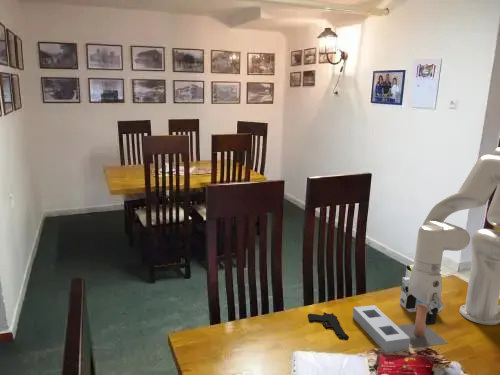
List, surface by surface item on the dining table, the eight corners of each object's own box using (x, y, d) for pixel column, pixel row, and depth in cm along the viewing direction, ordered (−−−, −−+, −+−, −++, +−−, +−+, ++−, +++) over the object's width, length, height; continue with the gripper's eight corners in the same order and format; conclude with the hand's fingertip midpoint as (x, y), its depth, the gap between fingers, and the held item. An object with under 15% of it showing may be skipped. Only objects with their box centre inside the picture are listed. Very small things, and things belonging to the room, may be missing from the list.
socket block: (373, 315, 137) (374, 305, 136) (408, 349, 118) (410, 338, 117) (352, 317, 135) (353, 307, 134) (385, 353, 116) (386, 341, 115)
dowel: (420, 331, 127) (423, 303, 125) (426, 336, 124) (429, 308, 122) (412, 332, 127) (415, 304, 124) (418, 337, 124) (421, 309, 122)
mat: (422, 323, 133) (423, 322, 133) (448, 344, 121) (448, 343, 121) (391, 327, 130) (391, 326, 130) (414, 349, 118) (414, 348, 118)
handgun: (306, 312, 137) (333, 311, 138) (306, 316, 137) (333, 314, 138) (319, 339, 121) (350, 337, 123) (318, 342, 122) (349, 340, 123)
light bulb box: (409, 313, 139) (412, 285, 137) (398, 303, 145) (401, 277, 143) (435, 310, 141) (439, 282, 139) (424, 301, 148) (427, 274, 145)
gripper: (458, 276, 113) (449, 330, 116) (419, 254, 129) (412, 302, 133) (435, 278, 111) (427, 332, 115) (399, 255, 128) (393, 303, 131)
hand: (419, 316), depth 124 cm, fingers open, 9 cm apart
